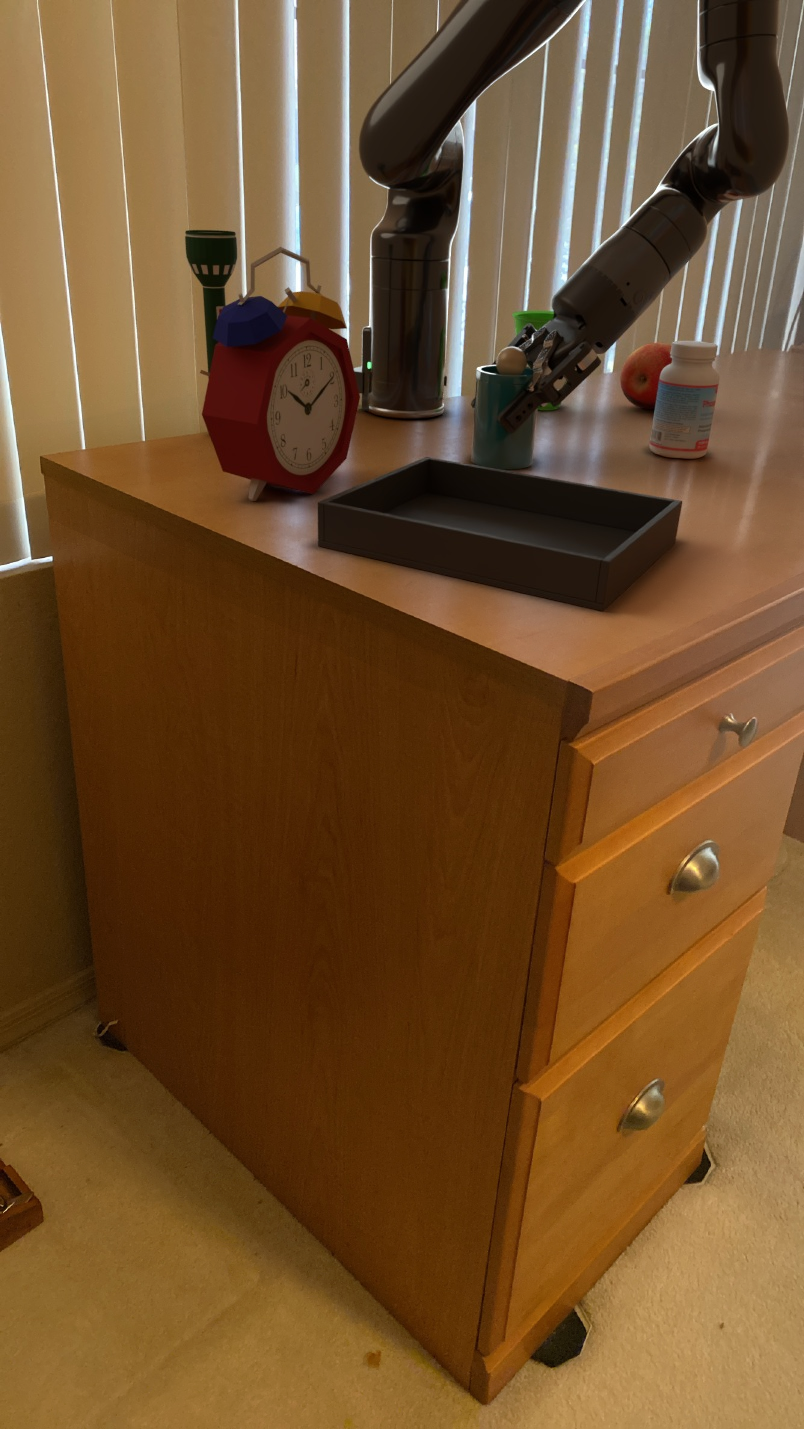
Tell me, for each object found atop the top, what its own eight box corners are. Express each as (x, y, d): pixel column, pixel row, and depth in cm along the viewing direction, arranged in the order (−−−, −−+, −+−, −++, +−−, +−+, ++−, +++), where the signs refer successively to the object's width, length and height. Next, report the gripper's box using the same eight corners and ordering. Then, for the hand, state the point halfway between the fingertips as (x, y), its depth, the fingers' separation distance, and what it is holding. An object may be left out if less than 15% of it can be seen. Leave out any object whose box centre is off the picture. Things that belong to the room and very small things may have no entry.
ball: (488, 376, 96) (494, 344, 94) (501, 373, 98) (507, 342, 97) (515, 383, 95) (522, 351, 93) (527, 380, 97) (534, 349, 96)
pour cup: (460, 463, 99) (465, 370, 95) (487, 451, 104) (493, 362, 100) (517, 473, 97) (525, 378, 92) (541, 460, 102) (550, 369, 97)
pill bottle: (707, 462, 103) (728, 349, 98) (648, 457, 104) (665, 345, 99) (704, 448, 108) (723, 341, 103) (647, 444, 109) (664, 337, 104)
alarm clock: (262, 514, 82) (252, 252, 73) (186, 496, 86) (166, 245, 77) (361, 477, 94) (363, 245, 84) (289, 462, 97) (283, 240, 88)
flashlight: (214, 442, 104) (201, 233, 94) (189, 433, 107) (174, 229, 98) (254, 435, 107) (246, 232, 97) (229, 427, 110) (218, 229, 101)
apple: (694, 411, 127) (705, 345, 123) (650, 417, 122) (660, 349, 118) (648, 400, 132) (657, 337, 128) (604, 405, 128) (612, 340, 124)
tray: (317, 546, 76) (317, 501, 74) (424, 495, 89) (426, 456, 87) (602, 611, 66) (609, 562, 64) (675, 543, 79) (682, 500, 77)
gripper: (556, 255, 100) (441, 379, 102) (626, 267, 88) (495, 407, 90) (596, 311, 104) (484, 429, 106) (668, 330, 92) (541, 462, 94)
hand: (490, 418), depth 98 cm, fingers closed on pour cup, 6 cm apart
